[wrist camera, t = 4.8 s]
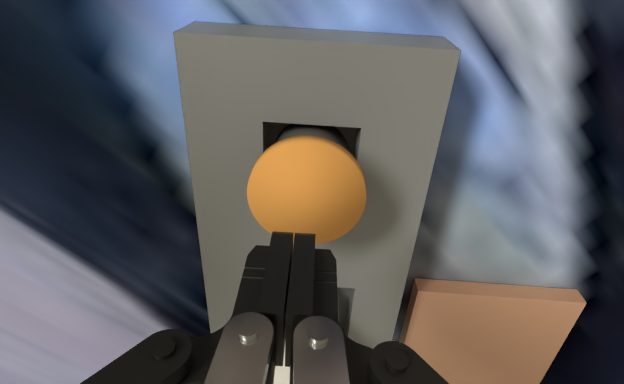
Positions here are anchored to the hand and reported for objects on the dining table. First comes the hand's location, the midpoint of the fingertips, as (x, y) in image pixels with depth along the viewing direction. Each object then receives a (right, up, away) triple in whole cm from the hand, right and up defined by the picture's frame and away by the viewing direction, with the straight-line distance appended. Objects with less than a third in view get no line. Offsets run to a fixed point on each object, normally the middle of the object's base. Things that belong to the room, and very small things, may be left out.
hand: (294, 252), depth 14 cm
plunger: (+1, +4, +7) cm, 8 cm away
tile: (+13, -9, +16) cm, 22 cm away
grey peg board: (0, +1, +11) cm, 11 cm away
